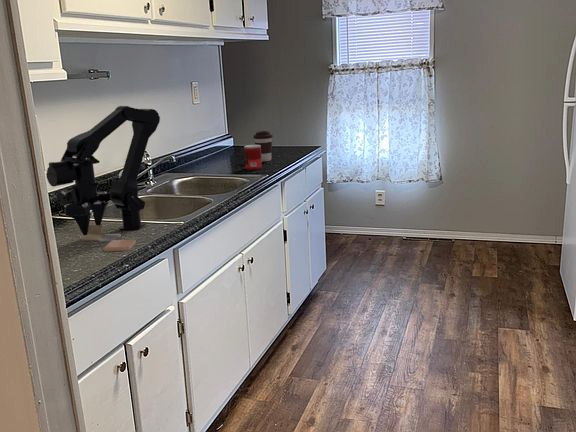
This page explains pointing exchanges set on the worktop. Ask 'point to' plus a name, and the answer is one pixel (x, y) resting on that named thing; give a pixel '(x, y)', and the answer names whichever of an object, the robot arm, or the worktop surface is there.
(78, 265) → the worktop surface
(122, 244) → the tile
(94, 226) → the turner
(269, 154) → the coffee cup
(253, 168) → the canned food
